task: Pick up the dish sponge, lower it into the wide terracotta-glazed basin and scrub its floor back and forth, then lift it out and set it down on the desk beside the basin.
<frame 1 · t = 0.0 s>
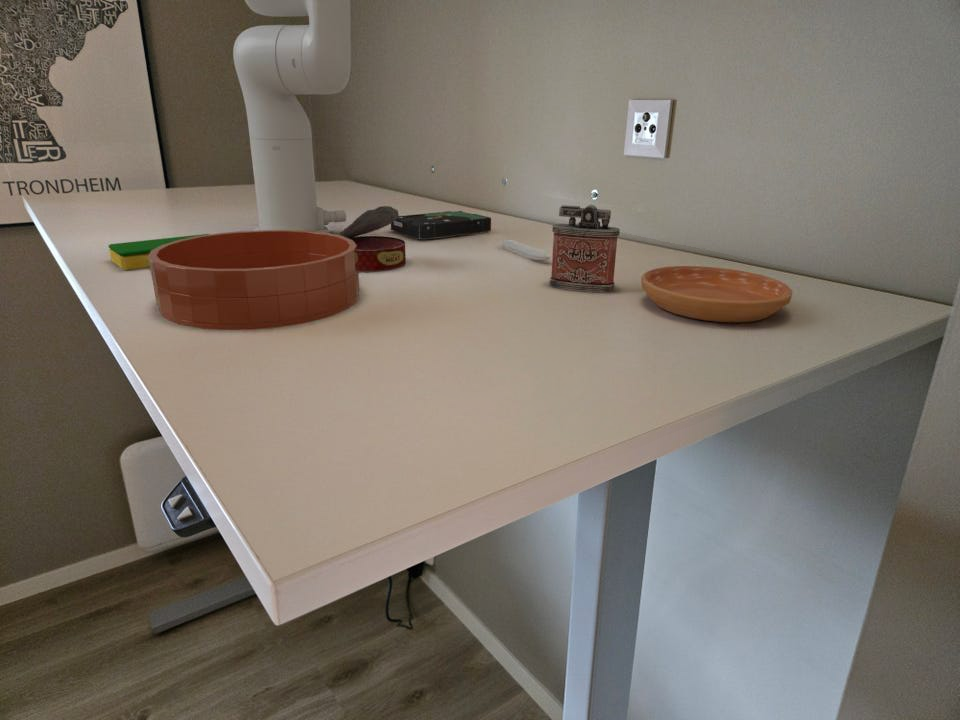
canned food: (370, 265, 91), on the table
basin: (262, 299, 74), on the table
saucer: (710, 308, 74), on the table
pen: (525, 257, 97), on the table
disk drive: (441, 233, 115), on the table
dish sponge: (171, 260, 92), on the table
lighter: (581, 288, 81), on the table
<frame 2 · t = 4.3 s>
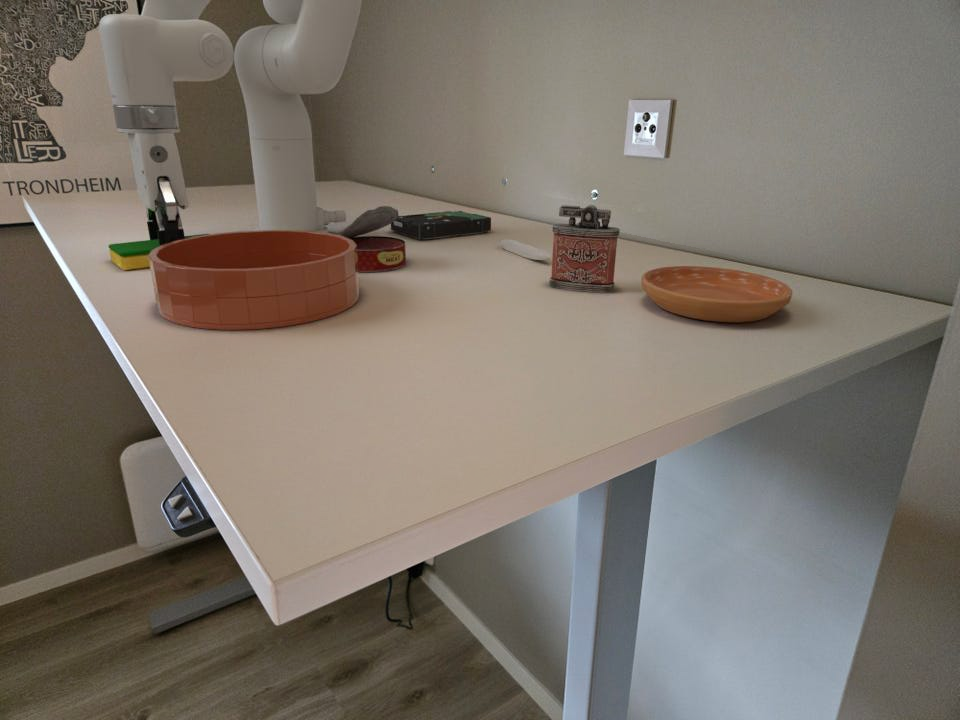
hand: (169, 252, 92), 1 cm above the table, tool pointing down, fingers closed on dish sponge, 7 cm apart
dish sponge: (171, 260, 92), on the table, touching gripper
everything else where it was.
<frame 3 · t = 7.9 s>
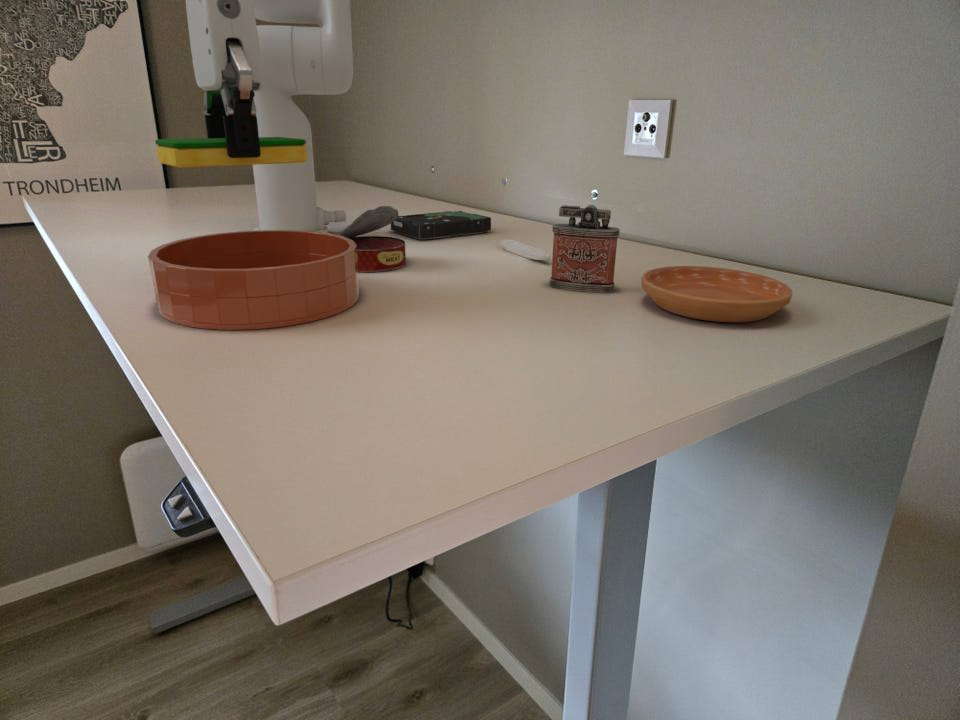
hand: (234, 153, 70), 16 cm above the table, tool pointing down, fingers closed on dish sponge, 7 cm apart
dish sponge: (235, 164, 71), point 15 cm above the table, touching gripper
everything else where it was.
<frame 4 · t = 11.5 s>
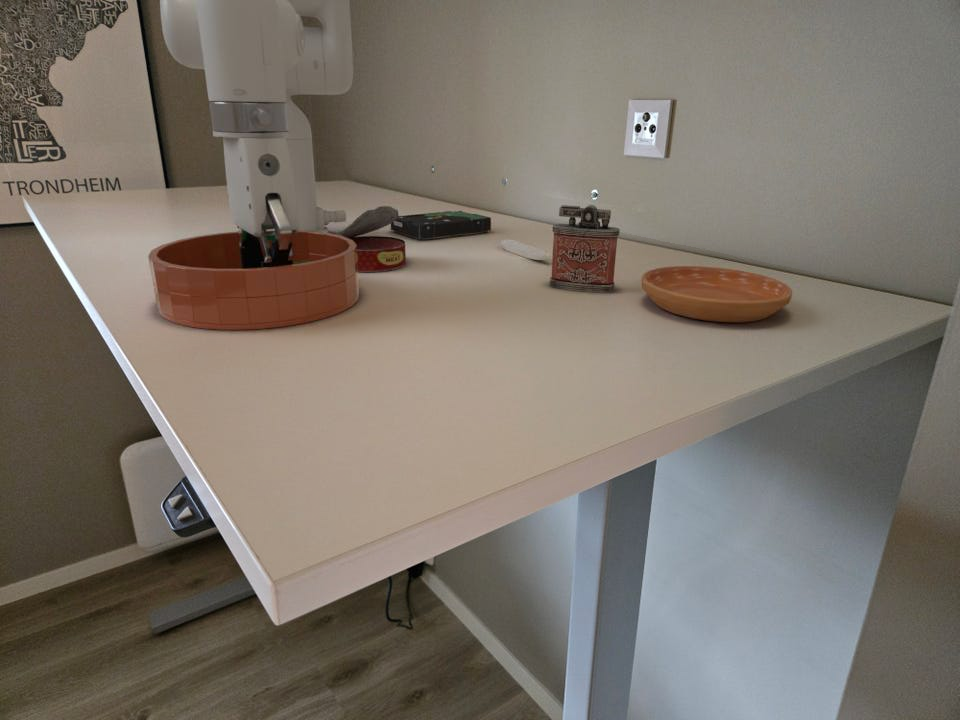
hand: (268, 287, 73), 2 cm above the table, tool pointing down, fingers closed on dish sponge, 7 cm apart
dish sponge: (269, 295, 74), point 1 cm above the table, touching gripper
everything else where it was.
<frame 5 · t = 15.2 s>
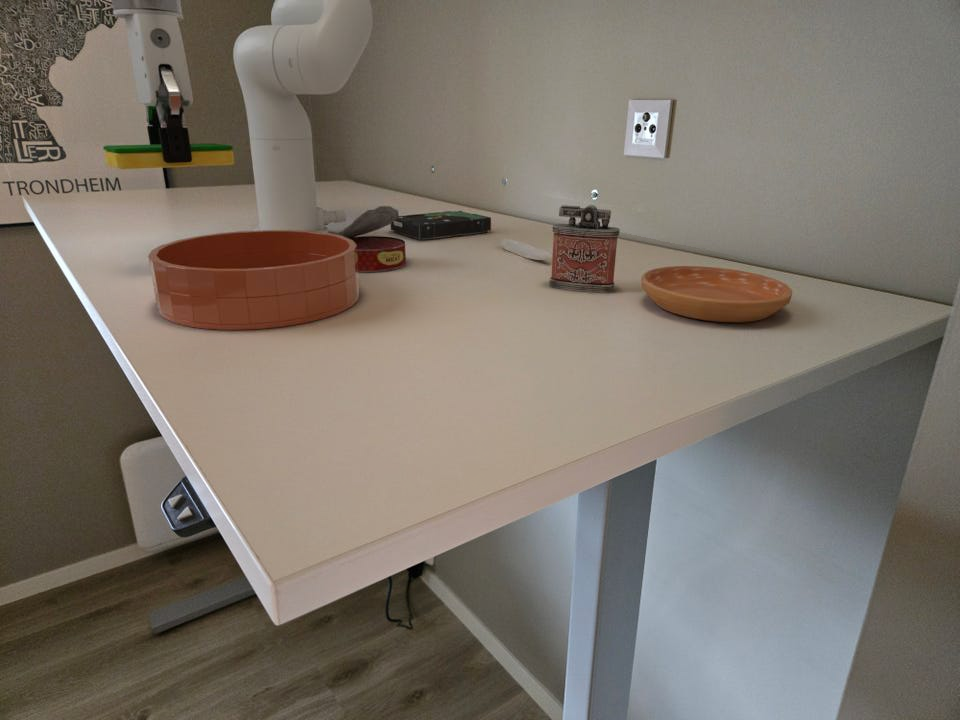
hand: (171, 159, 83), 14 cm above the table, tool pointing down, fingers closed on dish sponge, 7 cm apart
dish sponge: (172, 166, 84), point 13 cm above the table, touching gripper
everything else where it was.
when the fingers open (1 cm above the table, at t = 18.7 s): dish sponge stays where it is, on the table.
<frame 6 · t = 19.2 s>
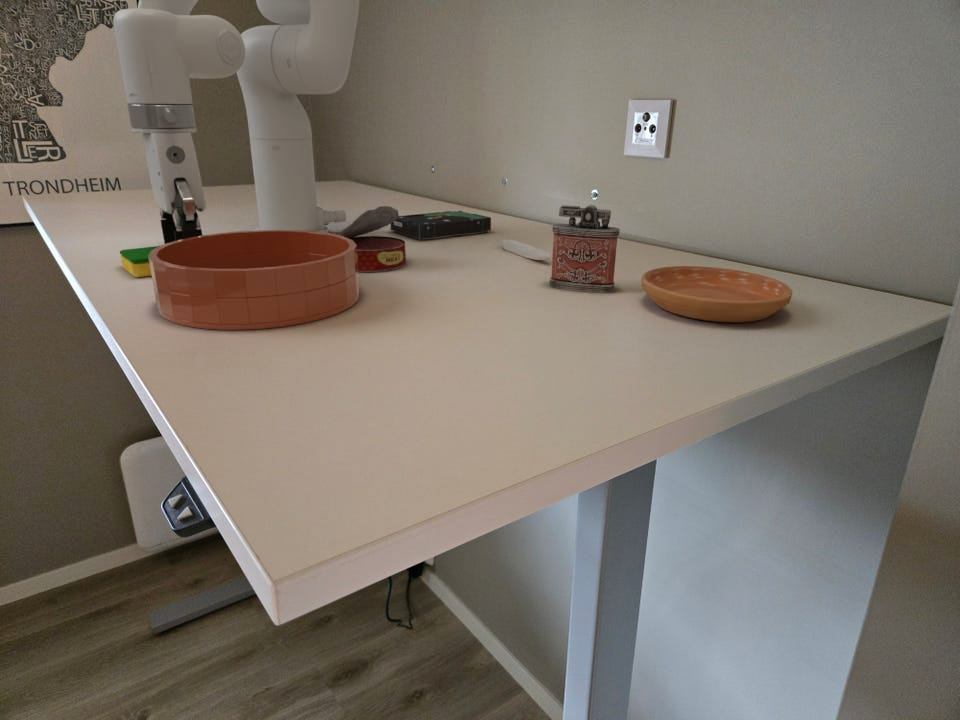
hand: (184, 253, 89), 2 cm above the table, tool pointing down, fingers open, 9 cm apart
dish sponge: (184, 267, 89), on the table
everything else where it was.
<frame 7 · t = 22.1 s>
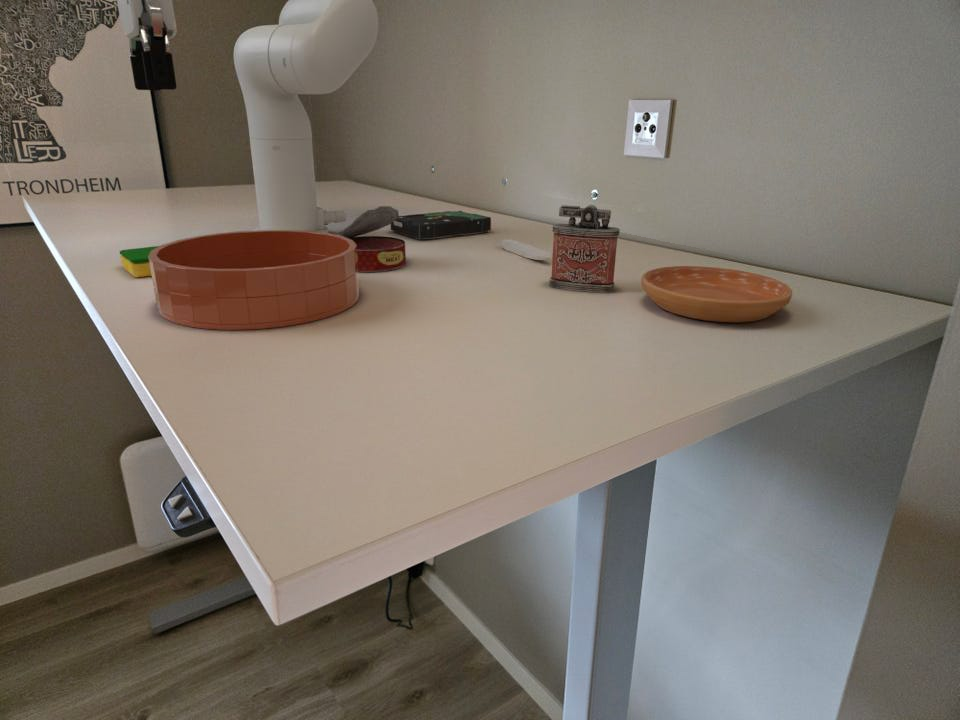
hand: (155, 89, 82), 22 cm above the table, tool pointing down, fingers open, 9 cm apart
nothing on the table moved.
at the end: the gripper is holding nothing; dish sponge inside the target area (0.2 cm from its centre), on the table; dish sponge tilted 0° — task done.
